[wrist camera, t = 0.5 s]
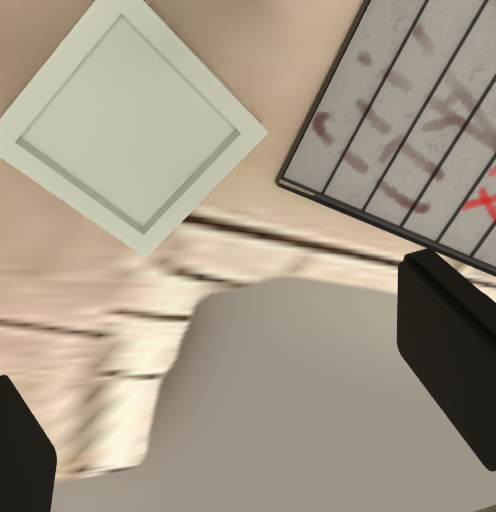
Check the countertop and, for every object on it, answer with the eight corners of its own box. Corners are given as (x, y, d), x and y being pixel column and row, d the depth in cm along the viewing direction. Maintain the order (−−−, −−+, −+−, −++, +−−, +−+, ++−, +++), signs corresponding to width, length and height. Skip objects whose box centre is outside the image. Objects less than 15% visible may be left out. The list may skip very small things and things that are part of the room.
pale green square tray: (117, -27, 29) (117, -28, 27) (260, 124, 36) (268, 132, 34) (-11, 133, 32) (-20, 143, 30) (144, 243, 39) (145, 258, 37)
